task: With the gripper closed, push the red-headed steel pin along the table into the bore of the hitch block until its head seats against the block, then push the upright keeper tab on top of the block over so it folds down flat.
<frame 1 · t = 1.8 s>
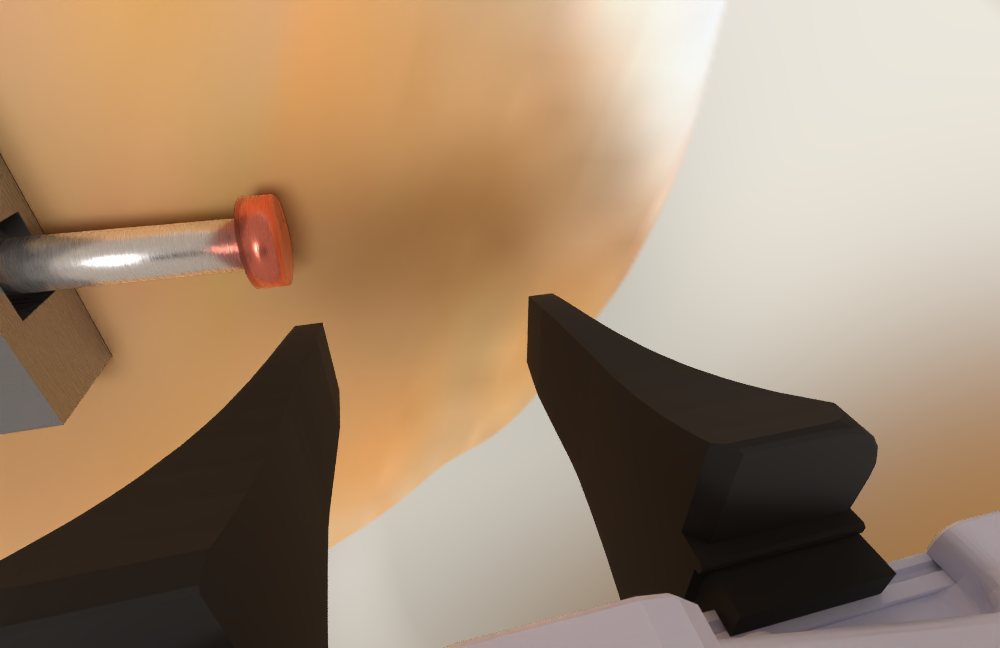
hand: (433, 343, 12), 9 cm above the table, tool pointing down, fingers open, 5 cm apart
pin: (107, 257, 16), point 2 cm above the table, slide at 0.0 cm
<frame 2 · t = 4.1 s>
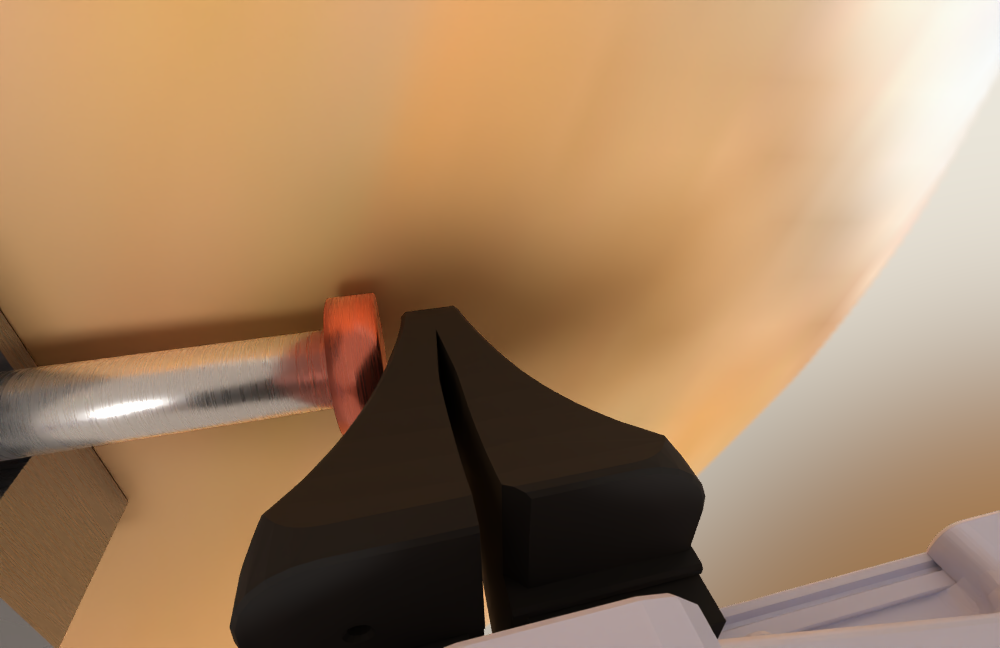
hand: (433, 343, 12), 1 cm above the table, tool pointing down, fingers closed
pin: (119, 399, 10), point 2 cm above the table, slide at 0.1 cm, touching gripper
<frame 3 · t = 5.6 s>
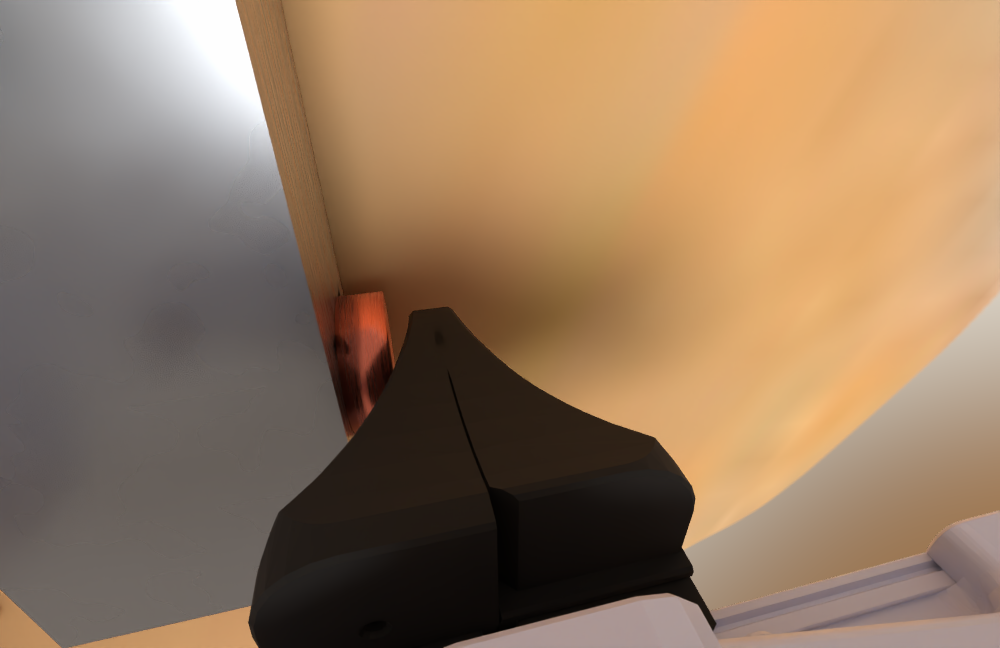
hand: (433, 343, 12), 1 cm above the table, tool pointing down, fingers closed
pin: (130, 397, 10), point 2 cm above the table, slide at 7.0 cm, touching gripper, hitch block
hitch block: (136, 182, 10), on the table
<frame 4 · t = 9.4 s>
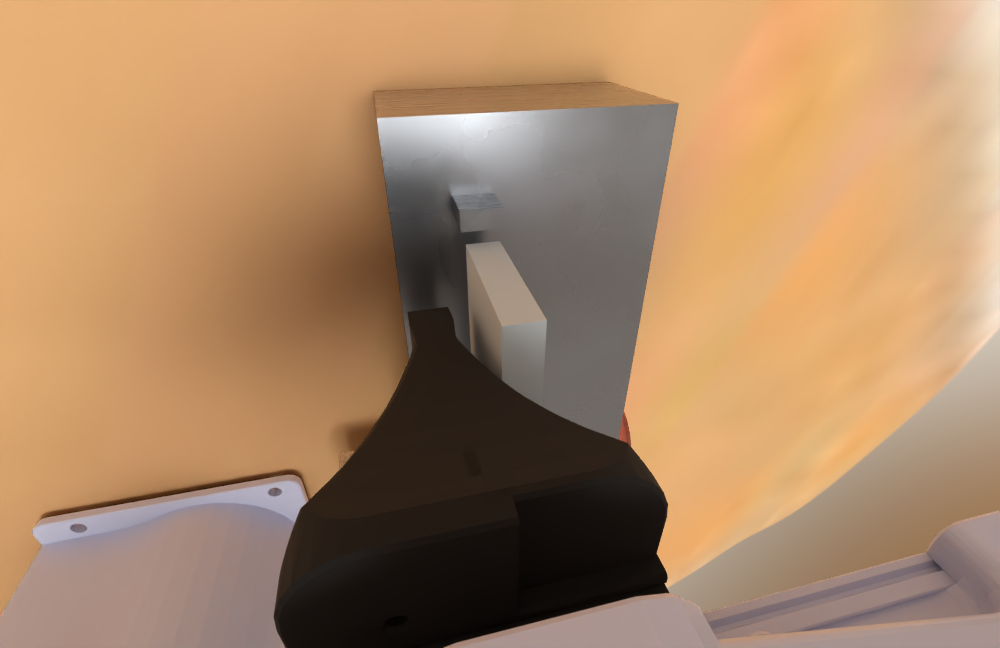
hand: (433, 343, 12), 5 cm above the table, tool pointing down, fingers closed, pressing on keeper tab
keeper tab: (501, 371, 11), point 7 cm above the table, hinge at 0.2°, touching gripper
pin: (485, 450, 20), point 2 cm above the table, slide at 7.0 cm, touching hitch block
hitch block: (498, 340, 19), on the table
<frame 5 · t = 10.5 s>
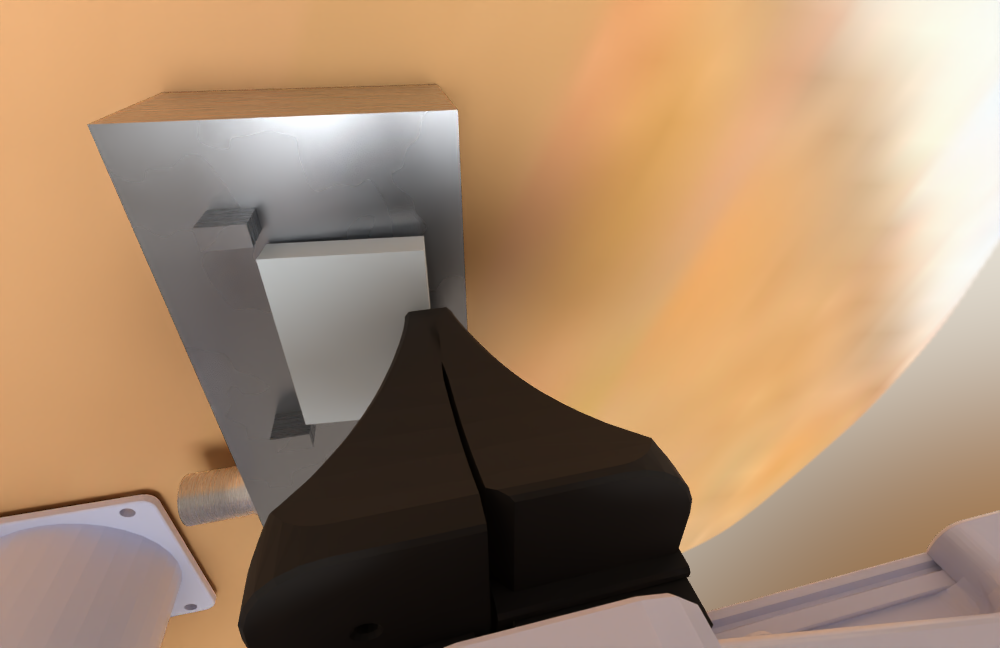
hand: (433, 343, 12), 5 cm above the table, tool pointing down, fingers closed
keeper tab: (360, 336, 12), point 5 cm above the table, hinge at 85.1°
pin: (347, 472, 19), point 2 cm above the table, slide at 7.0 cm, touching hitch block
hitch block: (359, 357, 18), on the table
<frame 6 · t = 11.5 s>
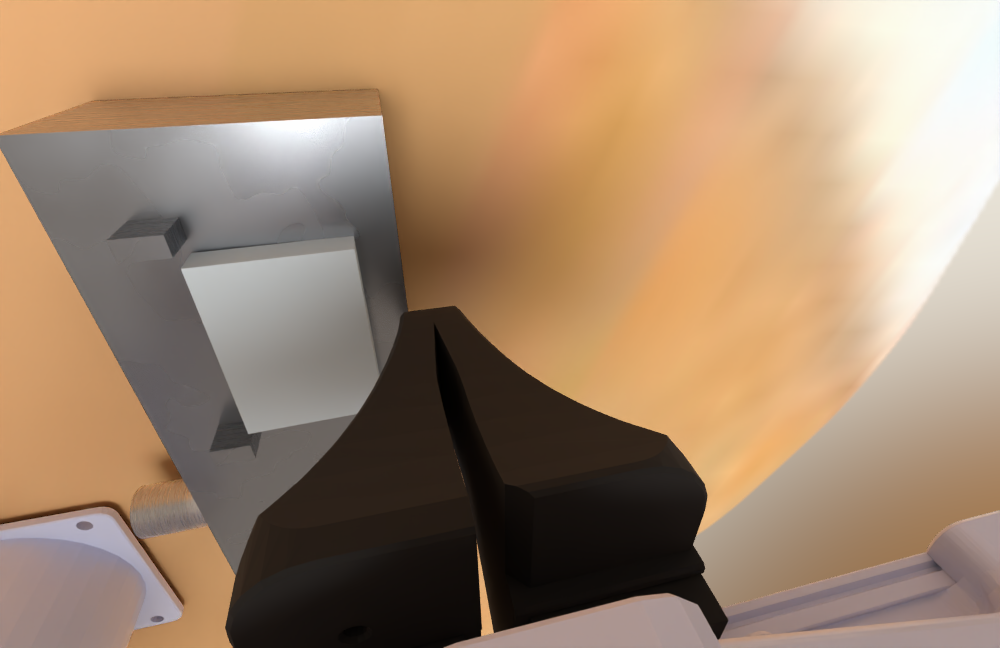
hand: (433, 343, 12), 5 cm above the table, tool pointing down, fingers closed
keeper tab: (298, 339, 12), point 4 cm above the table, hinge at 91.9°, touching hitch block
pin: (307, 481, 18), point 2 cm above the table, slide at 7.0 cm, touching hitch block
hitch block: (315, 364, 18), on the table
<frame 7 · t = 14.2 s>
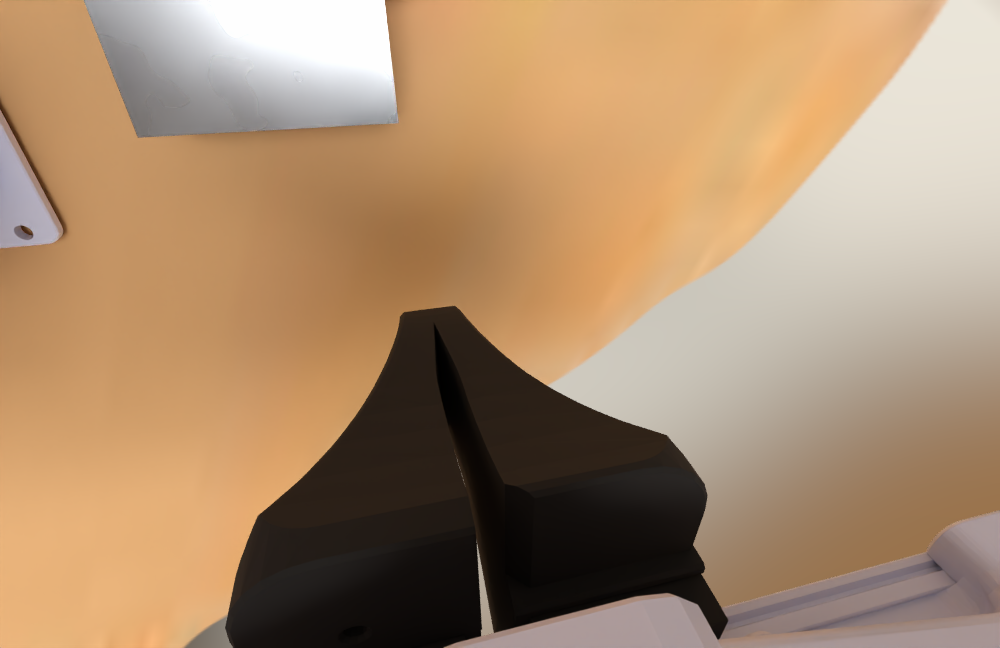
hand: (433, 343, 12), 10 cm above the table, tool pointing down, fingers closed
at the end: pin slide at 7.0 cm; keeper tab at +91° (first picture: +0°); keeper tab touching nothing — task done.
